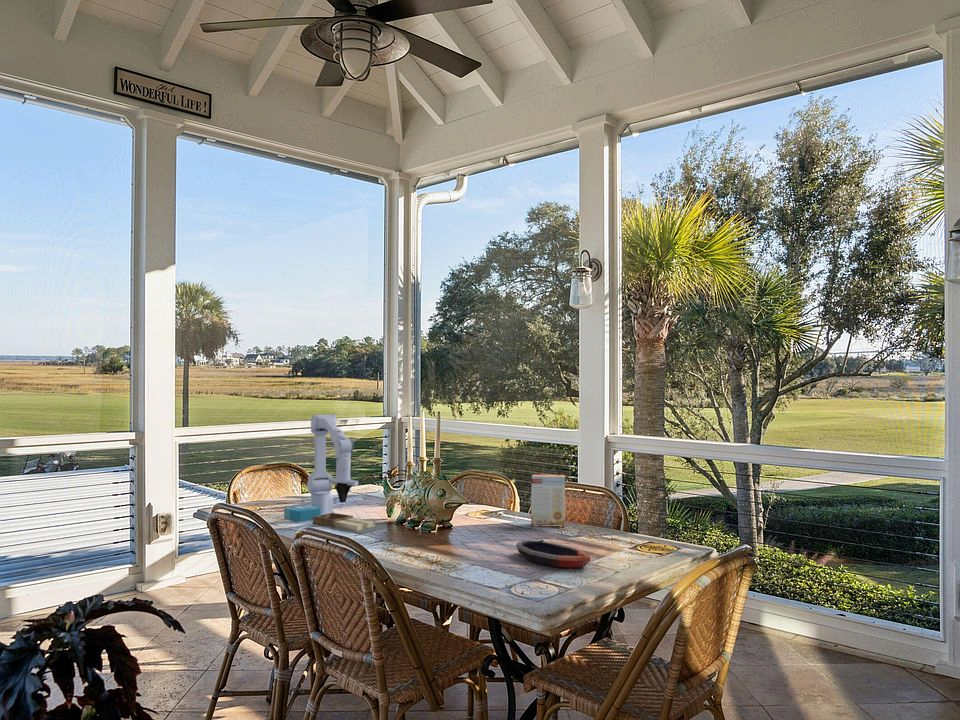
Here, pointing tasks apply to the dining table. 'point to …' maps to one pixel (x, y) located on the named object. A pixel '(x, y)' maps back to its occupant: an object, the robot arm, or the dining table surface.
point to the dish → (552, 554)
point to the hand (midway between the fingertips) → (342, 502)
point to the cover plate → (355, 524)
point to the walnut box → (329, 519)
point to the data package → (301, 512)
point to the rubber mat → (362, 529)
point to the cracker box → (548, 500)
